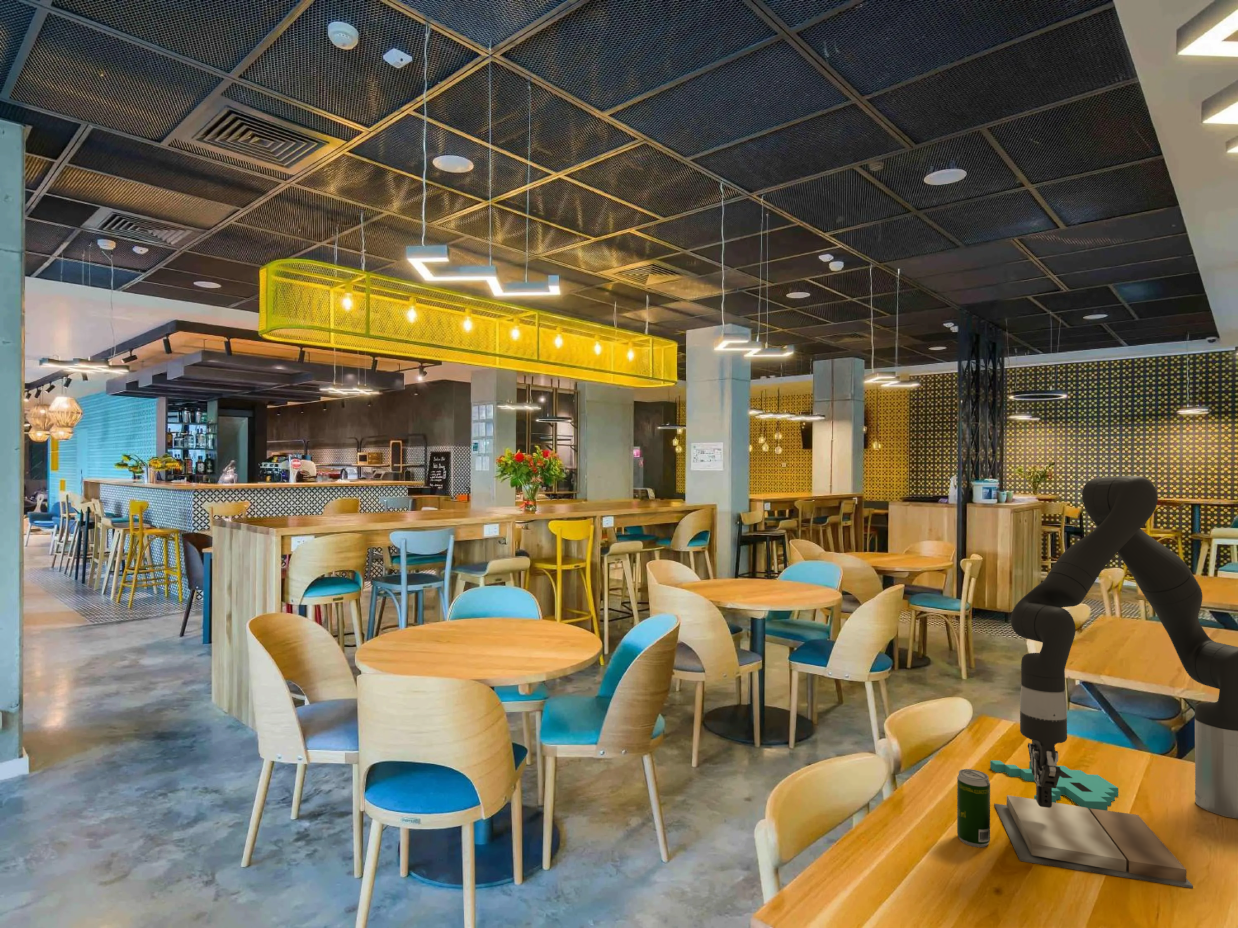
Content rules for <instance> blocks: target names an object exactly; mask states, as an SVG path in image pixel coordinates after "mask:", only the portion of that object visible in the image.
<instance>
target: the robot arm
mask: <svg viewBox="0 0 1238 928" xmlns="http://www.w3.org/2000/svg"><path fill="white" fill-rule="evenodd" d="M1081 500H1082V505H1083V507H1084V509H1085V511H1086V513H1087V515H1088V517H1089V518H1090V519H1091V520H1092V522H1093V523H1094V525H1095V526H1096V528H1094V529H1093V530H1092V531H1091V532H1089V533H1088V534H1086V536H1084V537H1082V538H1081V539H1080V540H1078V541H1076V542H1075V543H1074V544H1073V545H1071V546H1070V547H1068V548H1067V549H1066V550H1065V551H1064V552H1063V553H1062V554H1061V555H1060V556H1059V557H1058V559H1056V561H1055V563H1054V565H1053V566H1052V567H1051V569H1050V570H1049V572H1048V573H1047V575H1046V576H1045V578H1044V579H1043V580H1042V582H1040V583H1039V584H1037V585H1036V586H1035V587H1034V588H1033V589H1031V590H1030V591H1029V592H1028V593H1027V594H1025V595H1024V596H1023V597H1022V598H1021V599H1020V600H1019V601H1018V602H1017V603H1016V605H1015V606H1014V607H1013V609H1012V612H1011V616H1010V624H1011V625H1010V626H1011V629H1012V630H1013V632H1014V633H1015V634H1016V635H1017V636H1019V637H1022V638H1023V639H1026V640H1029V641H1030V640H1031V641H1035V642H1040V643H1041V644H1042V646H1041V649H1040V652H1029V653H1026V654H1024V655H1023V656H1022V658H1021V663H1020V667H1021V668H1020V670H1021V671H1020V673H1021V674H1020V677H1021V678H1020V683H1021V684H1020V685H1021V687H1020V694H1019V732H1020V734H1021V735H1023V737H1024V738H1027V739H1028V740H1031V742H1030V743H1029V742H1028V743H1027V748H1028V754H1029V761H1030V762H1031V768H1032V774H1033V775H1034V780H1035V781H1034V782H1035V789H1036V790H1035V791H1036V792H1035V795H1036V801H1037V803H1038V805H1039V806H1041V807H1047V808H1050V807H1052V788H1056V786H1057V783H1058V780H1059V777H1060V774H1061V769H1060V767H1057V766H1058V762H1059V752H1058V750H1056V747H1055V746H1056V745H1057V744H1063V743H1066V741H1067V739H1068V705H1067V704H1068V703H1067V696H1066V672H1065V671H1066V666H1067V662H1068V659H1069V655H1070V652H1071V649H1072V646H1073V642H1074V639H1075V637H1076V630H1077V629H1076V624H1075V620H1074V617H1073V616H1072V613H1070V612H1069V610H1067V609H1066V608H1071V607H1076V606H1079V605H1080V604H1081V603H1082V602H1083V601H1084V599H1085V597H1086V596H1087V595H1088V593H1089V591H1090V590H1091V588H1092V586H1093V585H1094V583H1095V582H1096V581H1097V578H1098V577H1099V576H1100V574H1101V573H1102V571H1103V570H1104V569H1105V567H1106V566H1107V565H1108V563H1109V562H1110V561H1111V560H1112V559H1113V558H1114V556H1115V555H1117V554H1118V555H1119V557H1120V559H1121V560H1122V561H1123V563H1124V565H1125V566H1126V568H1127V569H1128V571H1129V572H1130V574H1131V576H1132V577H1133V579H1134V581H1135V583H1136V584H1137V586H1138V588H1139V589H1140V591H1141V592H1142V593H1141V594H1143V595H1144V597H1145V599H1146V600H1147V602H1148V603H1149V605H1150V606H1151V607H1152V609H1153V611H1154V613H1155V615H1156V616H1157V617H1158V619H1159V621H1160V623H1161V625H1162V626H1163V629H1164V630H1165V631H1166V634H1167V635H1168V637H1169V638H1170V641H1171V643H1172V645H1173V647H1174V650H1175V652H1176V654H1177V656H1178V658H1179V660H1180V662H1181V665H1182V666H1183V668H1184V670H1185V672H1186V673H1187V674H1188V675H1189V677H1190V678H1191V679H1193V680H1194V681H1195V682H1197V683H1199V684H1201V685H1203V686H1207V687H1210V688H1214V689H1217V690H1219V692H1218V698H1217V701H1216V702H1200V703H1198V704H1196V706H1195V708H1194V789H1195V790H1194V796H1195V797H1194V801H1195V803H1196V805H1197V806H1198V807H1200V808H1202V809H1203V810H1205V811H1208V812H1211V813H1212V814H1216V815H1220V816H1222V817H1227V818H1233V819H1238V646H1235V645H1230V644H1226V643H1221V642H1216V641H1214V640H1213V639H1211V637H1209V635H1208V634H1207V633H1206V631H1205V630H1204V628H1203V627H1202V625H1201V623H1200V620H1199V615H1200V611H1201V609H1202V608H1201V607H1202V604H1203V590H1202V588H1201V585H1200V584H1199V582H1198V581H1197V579H1196V577H1195V576H1194V574H1193V572H1192V571H1191V569H1190V567H1189V566H1188V565H1187V563H1186V562H1185V561H1184V560H1183V559H1182V558H1181V557H1180V556H1178V555H1177V554H1176V553H1175V552H1174V551H1172V550H1171V549H1170V548H1168V547H1167V546H1165V545H1164V544H1163V543H1161V542H1159V541H1158V540H1156V539H1154V538H1153V537H1151V536H1150V535H1149V534H1147V533H1146V531H1144V530H1143V529H1142V527H1143V526H1144V525H1145V524H1146V523H1147V522H1148V520H1149V519H1151V517H1152V516H1153V514H1154V512H1155V511H1156V508H1157V506H1158V500H1159V499H1158V493H1157V489H1156V487H1155V485H1154V483H1153V482H1151V481H1150V479H1148V478H1146V477H1144V476H1140V475H1122V476H1120V475H1119V476H1103V477H1096V478H1093V479H1090V480H1089V481H1087V482H1086V483H1085V484H1084V485H1083V489H1082V492H1081Z"/></svg>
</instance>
